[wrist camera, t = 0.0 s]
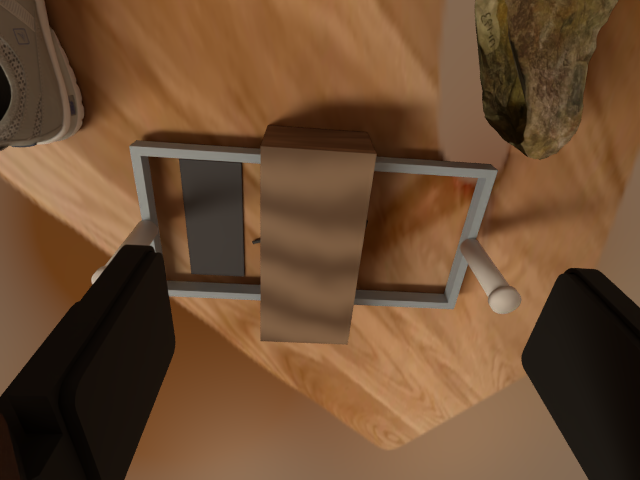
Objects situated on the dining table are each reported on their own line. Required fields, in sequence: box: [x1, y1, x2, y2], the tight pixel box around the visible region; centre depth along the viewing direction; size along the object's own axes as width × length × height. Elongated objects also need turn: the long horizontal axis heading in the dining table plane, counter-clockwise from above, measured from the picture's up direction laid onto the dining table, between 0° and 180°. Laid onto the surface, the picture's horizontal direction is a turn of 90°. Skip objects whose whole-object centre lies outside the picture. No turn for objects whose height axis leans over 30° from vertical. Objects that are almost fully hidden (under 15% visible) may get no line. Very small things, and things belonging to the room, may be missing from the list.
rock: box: [475, 0, 618, 160], centre depth 37 cm, size 19×10×10 cm
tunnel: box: [261, 125, 377, 345], centre depth 47 cm, size 25×11×8 cm, turn 176°
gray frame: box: [92, 140, 521, 314], centre depth 44 cm, size 20×42×13 cm, turn 86°
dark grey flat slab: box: [179, 159, 244, 276], centre depth 50 cm, size 16×7×1 cm, turn 176°
